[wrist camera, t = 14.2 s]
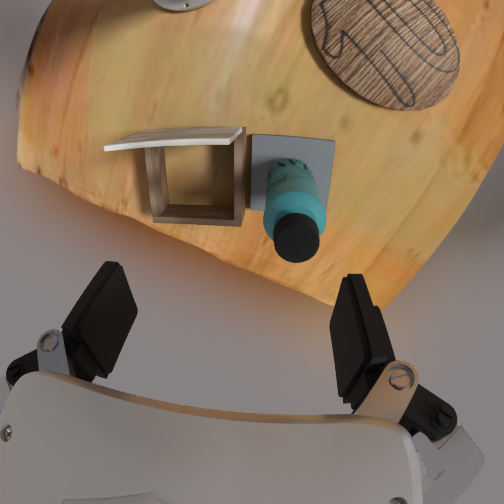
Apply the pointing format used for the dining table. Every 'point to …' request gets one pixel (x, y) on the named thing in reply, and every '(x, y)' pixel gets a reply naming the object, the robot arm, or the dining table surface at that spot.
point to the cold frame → (158, 183)
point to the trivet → (388, 49)
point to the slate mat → (284, 147)
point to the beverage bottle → (293, 211)
